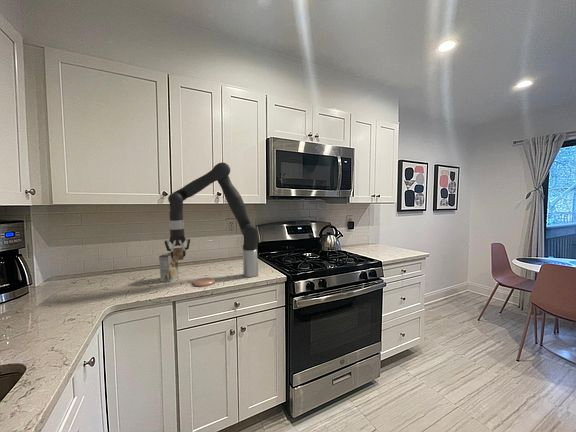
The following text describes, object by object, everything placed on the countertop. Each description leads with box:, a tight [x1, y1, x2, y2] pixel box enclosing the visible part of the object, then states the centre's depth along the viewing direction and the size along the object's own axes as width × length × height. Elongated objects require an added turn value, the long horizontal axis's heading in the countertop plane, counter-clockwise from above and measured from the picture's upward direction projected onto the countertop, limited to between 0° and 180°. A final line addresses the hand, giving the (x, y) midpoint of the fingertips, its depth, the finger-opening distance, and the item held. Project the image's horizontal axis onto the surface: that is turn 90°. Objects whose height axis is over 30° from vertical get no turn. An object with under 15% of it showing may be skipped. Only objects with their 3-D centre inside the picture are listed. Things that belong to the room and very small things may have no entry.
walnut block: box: [173, 247, 184, 261], centre depth 146 cm, size 5×5×6 cm
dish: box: [193, 277, 216, 288], centre depth 152 cm, size 12×12×2 cm
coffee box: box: [158, 252, 179, 283], centre depth 159 cm, size 9×6×16 cm
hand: (178, 257), depth 146 cm, fingers closed on walnut block, 5 cm apart
